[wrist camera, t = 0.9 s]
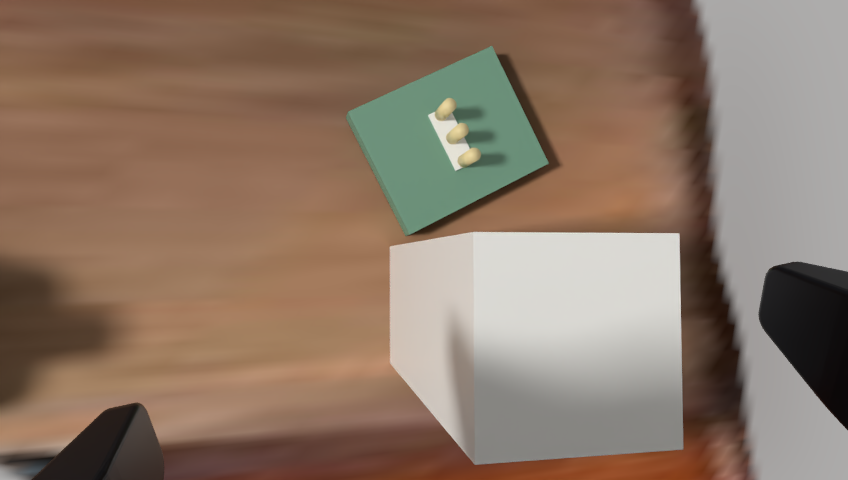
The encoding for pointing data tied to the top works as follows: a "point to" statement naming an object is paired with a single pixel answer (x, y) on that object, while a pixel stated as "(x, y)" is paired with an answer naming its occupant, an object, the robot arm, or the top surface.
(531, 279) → the white tall block
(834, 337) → the robot arm
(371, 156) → the header board
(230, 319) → the top surface
